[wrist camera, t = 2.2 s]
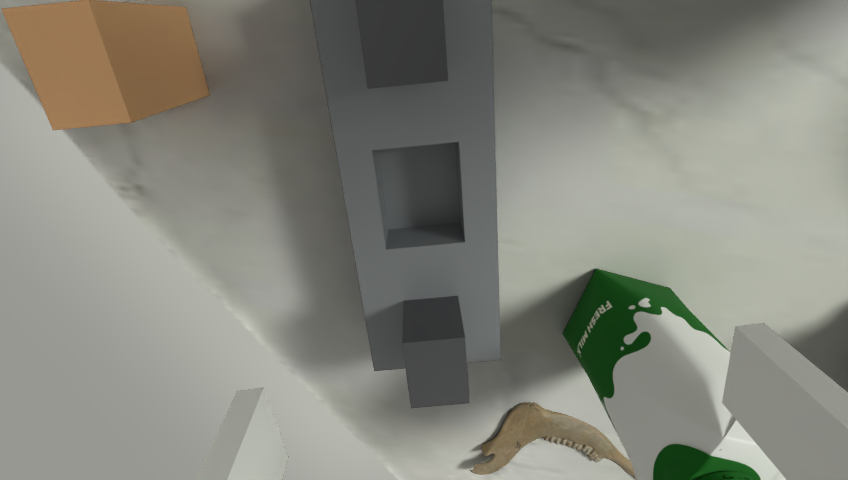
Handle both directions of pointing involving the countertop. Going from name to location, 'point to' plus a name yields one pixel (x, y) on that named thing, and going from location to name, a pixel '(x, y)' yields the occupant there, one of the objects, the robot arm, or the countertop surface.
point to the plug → (107, 60)
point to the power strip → (418, 180)
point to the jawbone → (546, 437)
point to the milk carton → (661, 383)
